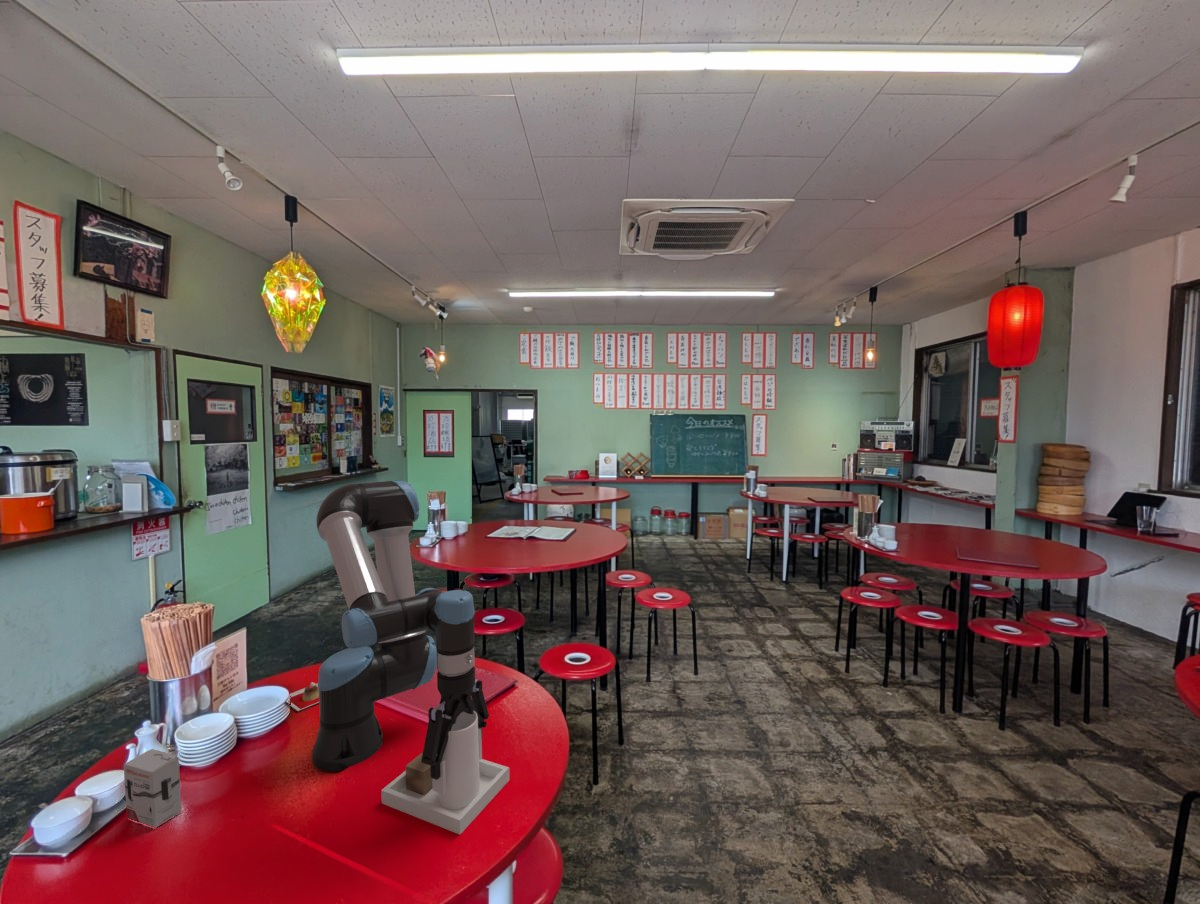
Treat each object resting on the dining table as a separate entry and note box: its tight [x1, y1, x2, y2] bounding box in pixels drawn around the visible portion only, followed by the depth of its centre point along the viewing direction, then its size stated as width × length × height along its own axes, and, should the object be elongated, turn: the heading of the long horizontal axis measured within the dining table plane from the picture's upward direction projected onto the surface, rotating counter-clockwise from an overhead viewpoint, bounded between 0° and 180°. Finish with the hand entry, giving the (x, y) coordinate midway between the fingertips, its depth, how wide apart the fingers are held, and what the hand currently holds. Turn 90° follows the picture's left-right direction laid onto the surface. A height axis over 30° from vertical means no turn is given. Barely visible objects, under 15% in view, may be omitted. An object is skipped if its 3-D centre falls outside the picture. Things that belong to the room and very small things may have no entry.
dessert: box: [289, 681, 319, 712], centre depth 144 cm, size 12×12×5 cm
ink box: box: [123, 748, 182, 828], centre depth 99 cm, size 8×5×12 cm, turn 72°
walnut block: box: [405, 751, 433, 796], centre depth 106 cm, size 5×6×5 cm
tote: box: [381, 758, 510, 835], centre depth 104 cm, size 20×16×4 cm
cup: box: [439, 711, 480, 809], centre depth 102 cm, size 8×8×16 cm
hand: (458, 773), depth 102 cm, fingers open, 10 cm apart
